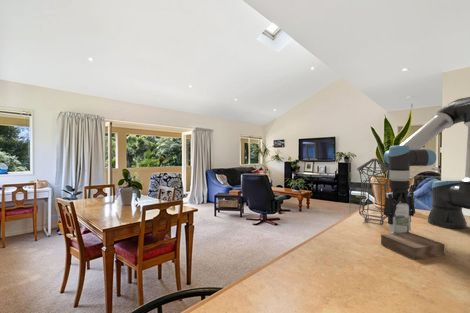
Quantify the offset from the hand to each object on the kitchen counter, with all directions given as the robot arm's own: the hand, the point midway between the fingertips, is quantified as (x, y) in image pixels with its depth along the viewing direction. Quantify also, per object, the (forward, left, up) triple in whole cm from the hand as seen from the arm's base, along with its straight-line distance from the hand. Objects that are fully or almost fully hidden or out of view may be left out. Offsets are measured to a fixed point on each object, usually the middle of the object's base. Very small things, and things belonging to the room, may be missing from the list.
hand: (399, 230), depth 104 cm
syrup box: (0, 0, -2) cm, 2 cm away
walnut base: (+8, +12, -3) cm, 15 cm away
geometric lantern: (-7, -21, -3) cm, 23 cm away
